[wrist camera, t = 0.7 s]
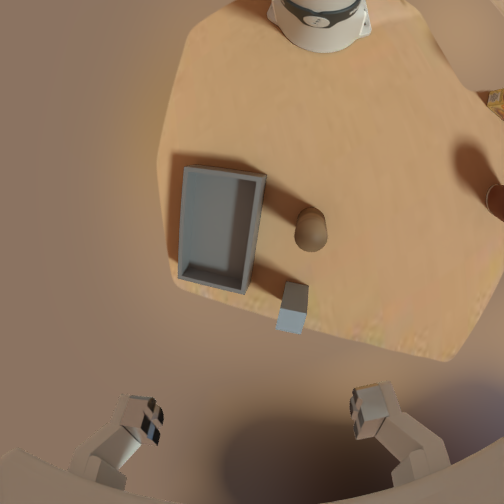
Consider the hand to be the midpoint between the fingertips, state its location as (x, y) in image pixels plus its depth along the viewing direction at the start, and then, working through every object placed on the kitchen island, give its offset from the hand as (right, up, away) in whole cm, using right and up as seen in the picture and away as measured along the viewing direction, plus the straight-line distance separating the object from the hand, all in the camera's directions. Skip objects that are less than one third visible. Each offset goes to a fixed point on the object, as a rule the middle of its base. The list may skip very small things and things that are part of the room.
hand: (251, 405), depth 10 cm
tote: (-5, +11, +44) cm, 45 cm away
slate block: (+9, -2, +46) cm, 46 cm away
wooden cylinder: (+11, +12, +40) cm, 43 cm away
